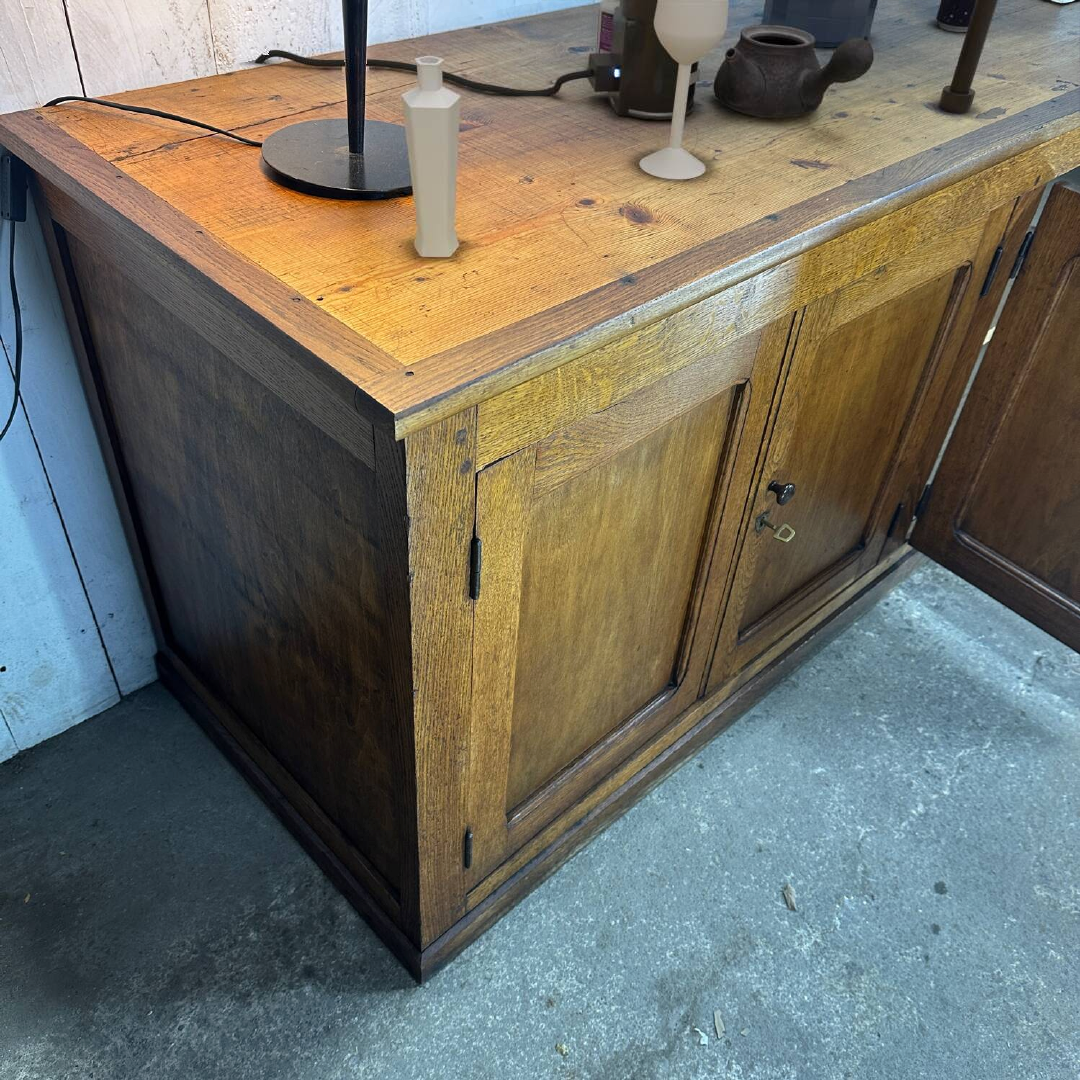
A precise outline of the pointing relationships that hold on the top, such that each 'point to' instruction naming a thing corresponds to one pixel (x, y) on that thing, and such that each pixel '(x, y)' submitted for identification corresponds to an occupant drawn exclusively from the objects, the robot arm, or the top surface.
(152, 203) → the top surface
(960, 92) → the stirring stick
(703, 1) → the champagne flute
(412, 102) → the beige faceted vase
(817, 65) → the teapot
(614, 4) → the pill bottle
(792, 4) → the bowl
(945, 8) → the beverage can
